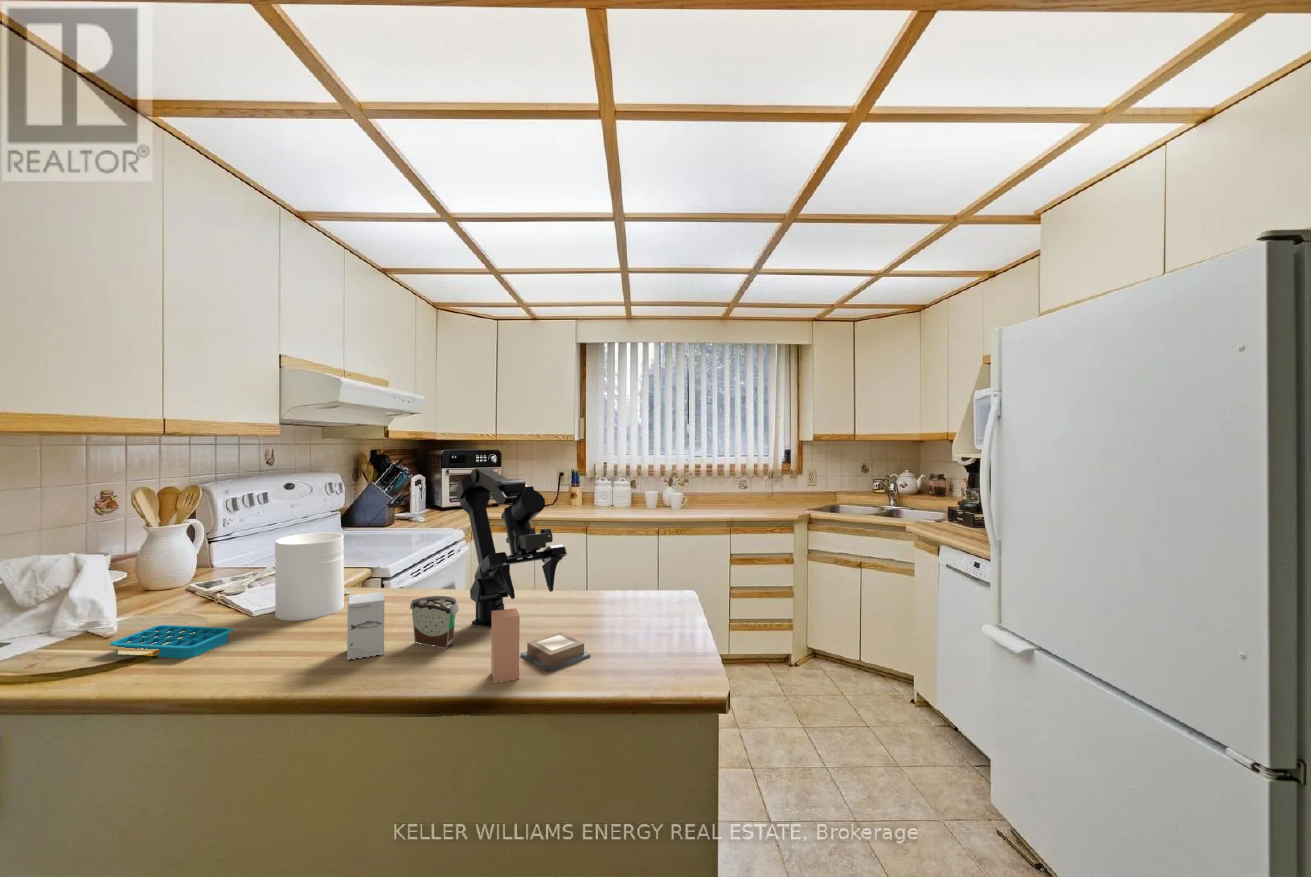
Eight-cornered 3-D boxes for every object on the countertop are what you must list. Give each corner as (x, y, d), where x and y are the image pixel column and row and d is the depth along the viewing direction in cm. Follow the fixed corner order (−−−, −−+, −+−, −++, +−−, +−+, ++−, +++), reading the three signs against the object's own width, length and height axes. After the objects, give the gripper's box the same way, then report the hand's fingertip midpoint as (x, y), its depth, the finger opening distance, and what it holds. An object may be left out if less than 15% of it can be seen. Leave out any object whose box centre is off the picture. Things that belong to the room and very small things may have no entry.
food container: (469, 640, 130) (470, 598, 130) (452, 649, 125) (452, 606, 124) (428, 633, 134) (428, 593, 134) (409, 642, 129) (409, 600, 128)
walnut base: (520, 655, 122) (520, 642, 122) (561, 642, 129) (561, 629, 129) (548, 672, 114) (548, 657, 114) (590, 656, 122) (590, 642, 122)
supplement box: (346, 662, 118) (346, 604, 117) (348, 649, 124) (347, 594, 124) (384, 655, 121) (384, 599, 121) (384, 643, 128) (384, 590, 127)
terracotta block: (491, 672, 113) (491, 611, 113) (515, 669, 115) (516, 608, 115) (493, 683, 109) (494, 619, 108) (519, 679, 110) (519, 615, 110)
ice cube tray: (159, 637, 131) (159, 624, 131) (236, 640, 129) (236, 628, 129) (106, 657, 119) (106, 644, 119) (190, 661, 118) (190, 648, 118)
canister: (355, 607, 152) (355, 536, 152) (292, 625, 139) (292, 547, 138) (326, 597, 161) (325, 530, 160) (264, 612, 147) (263, 539, 147)
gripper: (491, 520, 117) (505, 592, 111) (568, 513, 128) (585, 577, 122) (475, 538, 124) (487, 606, 118) (549, 530, 136) (564, 591, 130)
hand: (532, 594), depth 122 cm, fingers open, 9 cm apart
